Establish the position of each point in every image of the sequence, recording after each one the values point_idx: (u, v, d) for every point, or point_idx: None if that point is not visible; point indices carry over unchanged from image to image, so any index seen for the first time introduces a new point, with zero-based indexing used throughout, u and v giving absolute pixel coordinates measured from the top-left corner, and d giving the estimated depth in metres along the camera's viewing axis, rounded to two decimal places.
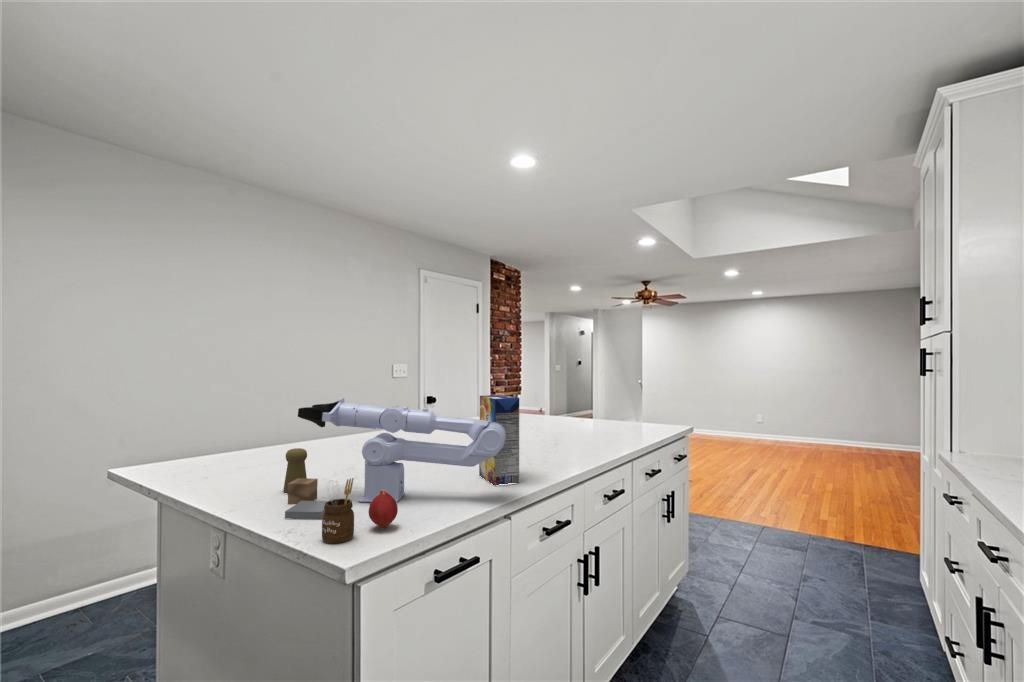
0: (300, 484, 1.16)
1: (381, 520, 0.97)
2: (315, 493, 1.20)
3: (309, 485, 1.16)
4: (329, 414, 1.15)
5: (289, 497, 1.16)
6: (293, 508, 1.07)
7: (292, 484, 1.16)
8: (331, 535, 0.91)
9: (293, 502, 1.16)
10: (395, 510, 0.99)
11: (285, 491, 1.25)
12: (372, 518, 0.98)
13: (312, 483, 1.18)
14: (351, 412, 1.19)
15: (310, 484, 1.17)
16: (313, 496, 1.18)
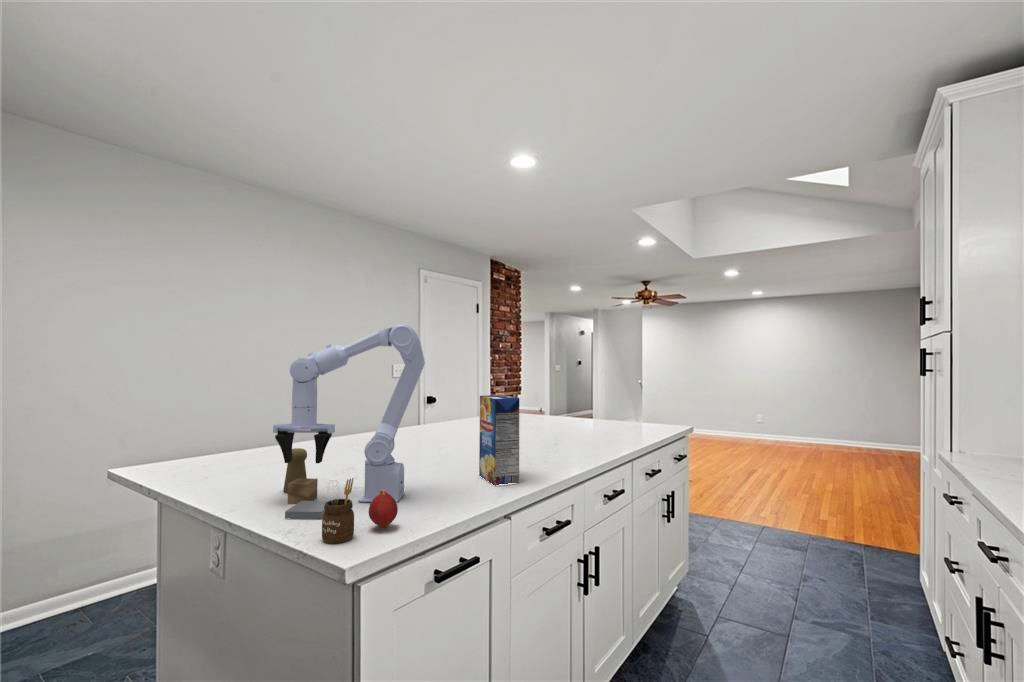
0: (300, 484, 1.16)
1: (381, 520, 0.97)
2: (315, 493, 1.20)
3: (309, 485, 1.16)
4: (332, 426, 1.18)
5: (289, 497, 1.16)
6: (293, 508, 1.07)
7: (292, 484, 1.16)
8: (331, 535, 0.91)
9: (293, 502, 1.16)
10: (395, 510, 0.99)
11: (285, 491, 1.25)
12: (372, 518, 0.98)
13: (312, 483, 1.18)
14: (313, 411, 1.18)
15: (310, 484, 1.17)
16: (313, 496, 1.18)
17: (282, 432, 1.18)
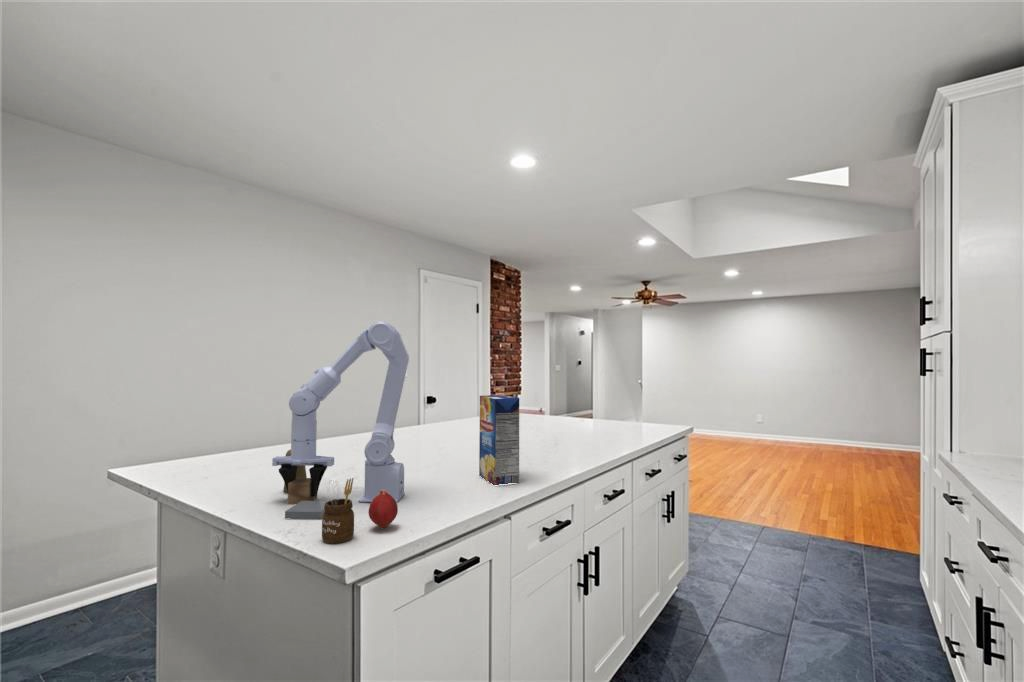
0: (300, 484, 1.16)
1: (381, 520, 0.97)
2: None
3: (309, 484, 1.16)
4: (331, 459, 1.18)
5: (289, 497, 1.16)
6: (293, 508, 1.07)
7: (292, 484, 1.16)
8: (331, 535, 0.91)
9: (293, 502, 1.16)
10: (395, 510, 0.99)
11: (285, 491, 1.25)
12: (372, 518, 0.98)
13: None
14: (312, 444, 1.18)
15: (310, 484, 1.17)
16: None
17: (281, 465, 1.18)
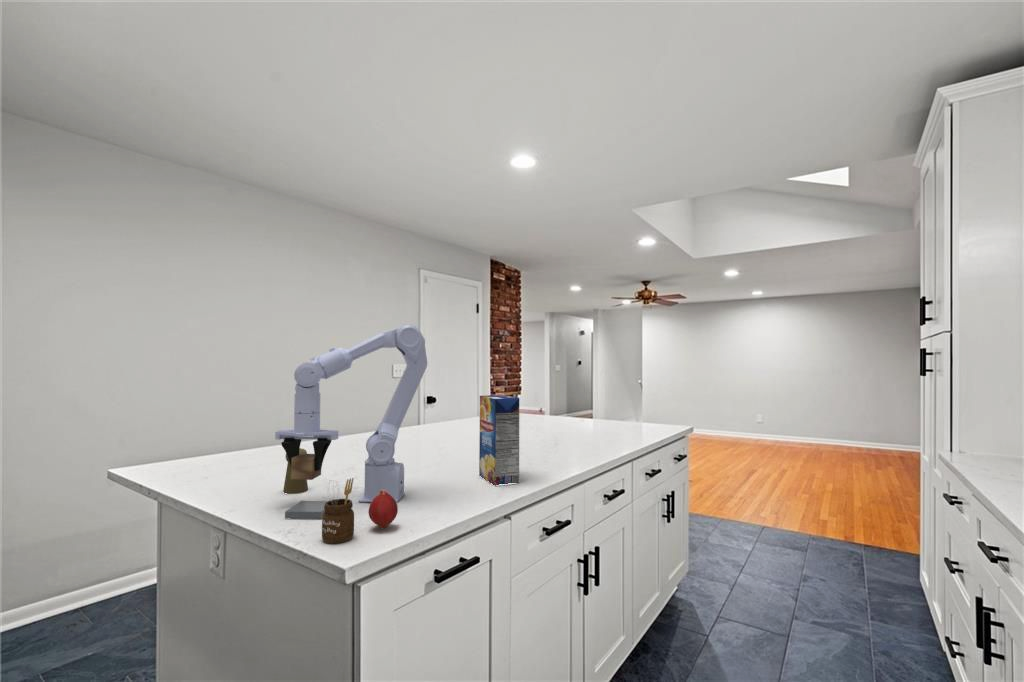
0: (304, 458, 1.13)
1: (381, 520, 0.97)
2: None
3: (313, 459, 1.13)
4: (335, 432, 1.15)
5: (292, 471, 1.13)
6: (293, 508, 1.07)
7: (296, 458, 1.13)
8: (331, 535, 0.91)
9: (296, 477, 1.13)
10: (395, 510, 0.99)
11: (285, 491, 1.25)
12: (372, 518, 0.98)
13: None
14: (316, 417, 1.15)
15: (314, 459, 1.14)
16: (317, 472, 1.16)
17: (284, 439, 1.15)
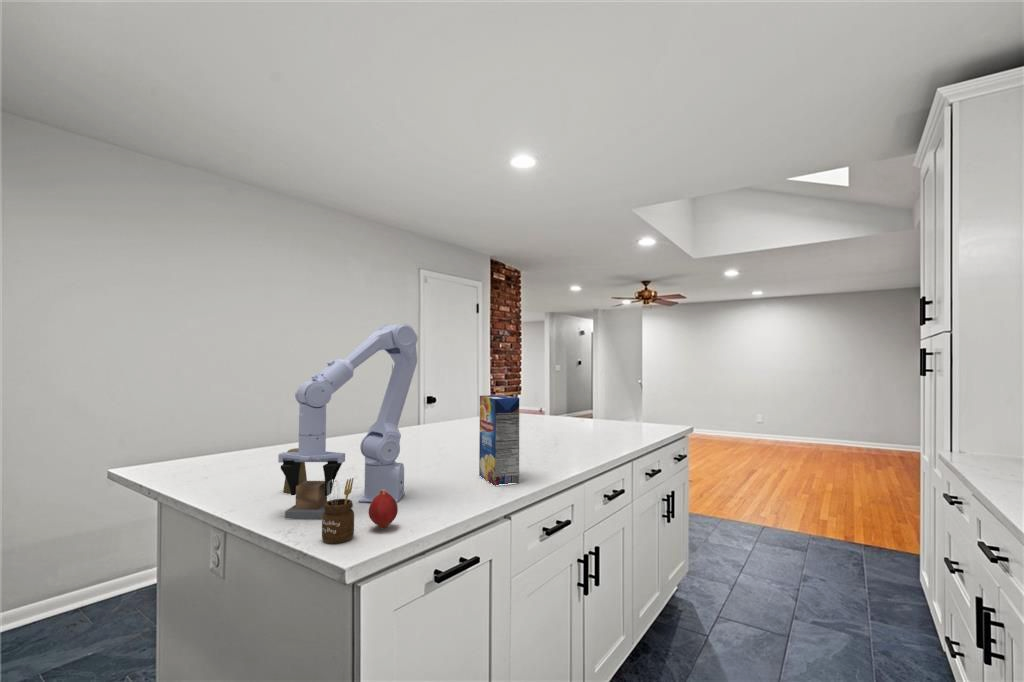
0: (309, 487, 1.07)
1: (381, 520, 0.97)
2: (325, 497, 1.11)
3: (319, 488, 1.07)
4: (342, 455, 1.09)
5: (297, 501, 1.07)
6: (293, 508, 1.07)
7: (300, 487, 1.07)
8: (331, 535, 0.91)
9: (301, 506, 1.07)
10: (395, 510, 0.99)
11: (285, 491, 1.25)
12: (372, 518, 0.98)
13: (322, 486, 1.09)
14: (322, 439, 1.09)
15: (320, 487, 1.08)
16: (323, 500, 1.10)
17: (288, 462, 1.09)
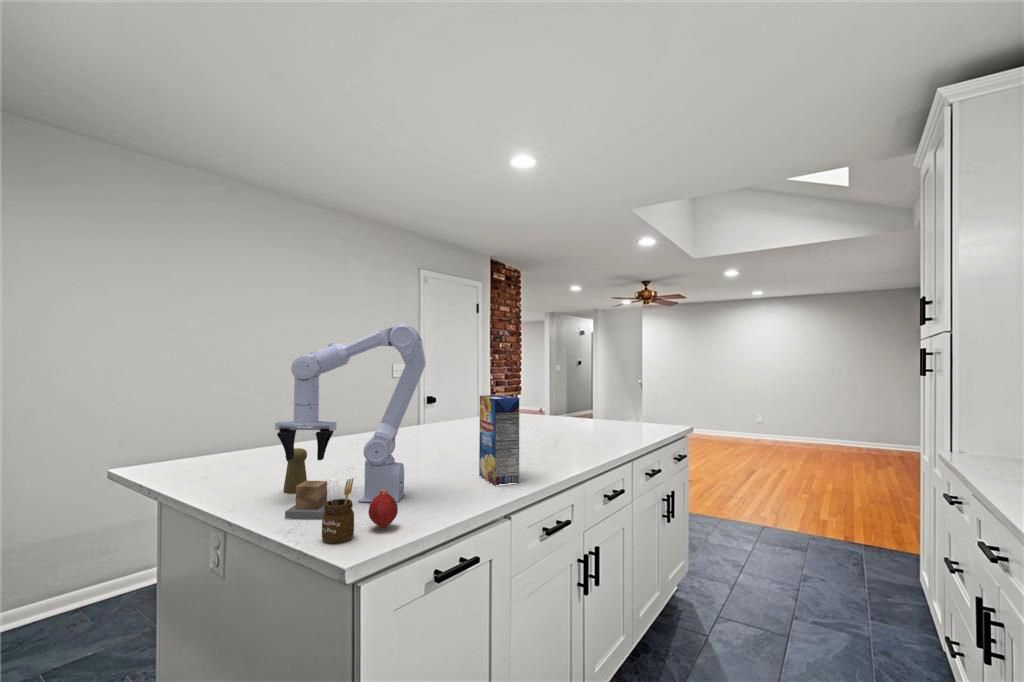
0: (309, 487, 1.07)
1: (381, 520, 0.97)
2: (325, 497, 1.11)
3: (319, 488, 1.07)
4: (333, 423, 1.19)
5: (297, 501, 1.07)
6: (293, 508, 1.07)
7: (300, 487, 1.07)
8: (331, 535, 0.91)
9: (301, 506, 1.07)
10: (395, 510, 0.99)
11: (285, 491, 1.25)
12: (372, 518, 0.98)
13: (322, 486, 1.09)
14: (315, 409, 1.19)
15: (320, 487, 1.08)
16: (323, 500, 1.10)
17: (284, 429, 1.19)
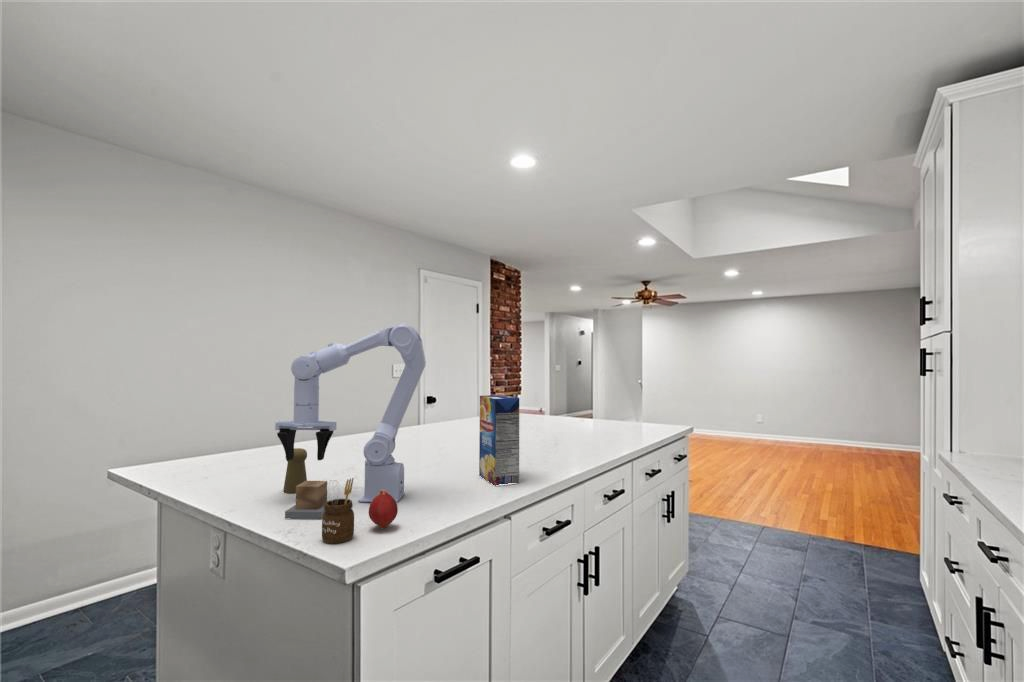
0: (309, 487, 1.07)
1: (381, 520, 0.97)
2: (325, 497, 1.11)
3: (319, 488, 1.07)
4: (333, 423, 1.19)
5: (297, 501, 1.07)
6: (293, 508, 1.07)
7: (300, 487, 1.07)
8: (331, 535, 0.91)
9: (301, 506, 1.07)
10: (395, 510, 0.99)
11: (285, 491, 1.25)
12: (372, 518, 0.98)
13: (322, 486, 1.09)
14: (315, 409, 1.19)
15: (320, 487, 1.08)
16: (323, 500, 1.10)
17: (284, 429, 1.19)
